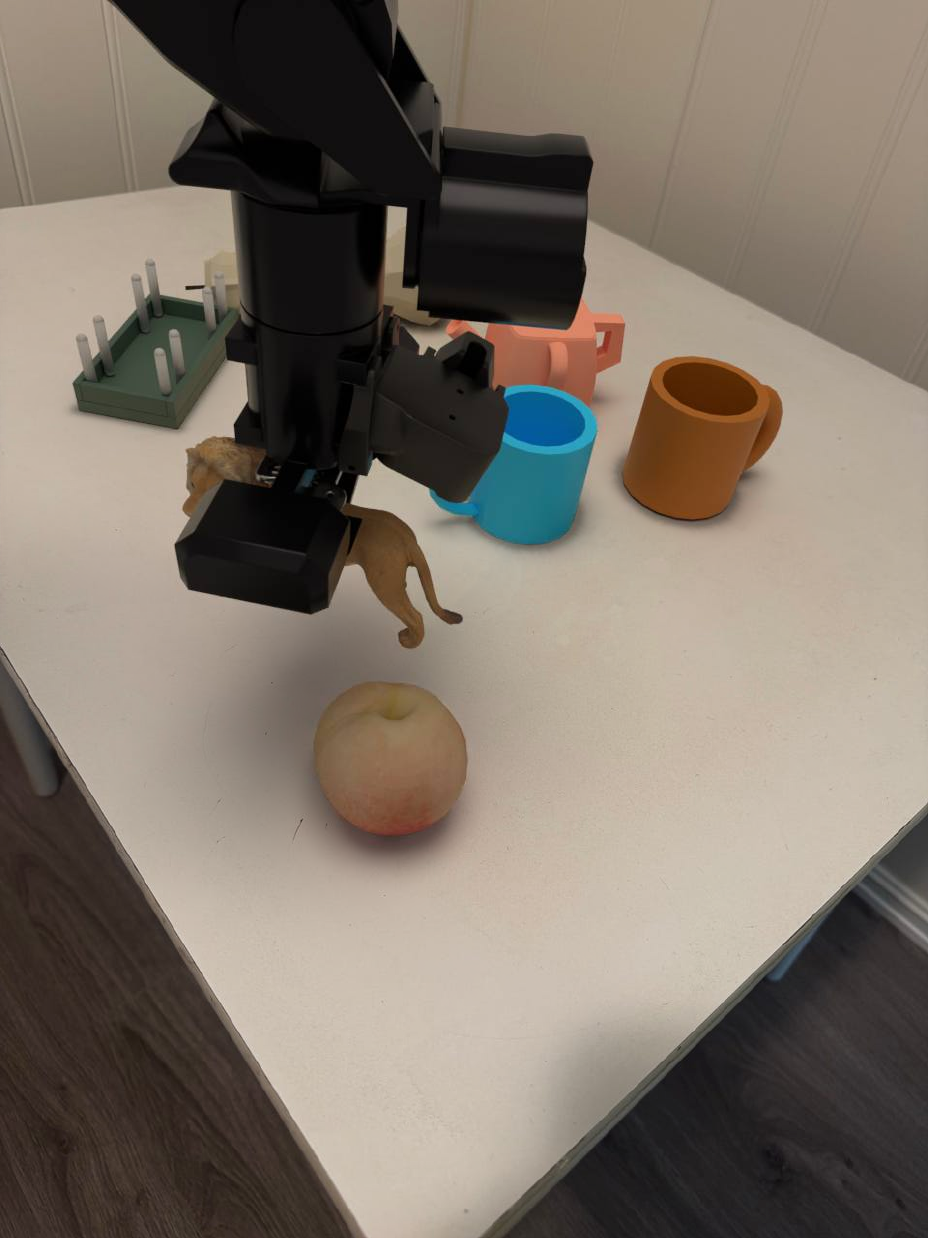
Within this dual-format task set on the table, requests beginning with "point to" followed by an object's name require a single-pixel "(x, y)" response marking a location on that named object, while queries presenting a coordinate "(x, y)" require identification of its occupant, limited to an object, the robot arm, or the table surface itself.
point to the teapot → (553, 352)
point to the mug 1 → (534, 468)
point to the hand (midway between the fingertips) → (317, 572)
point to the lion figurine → (376, 549)
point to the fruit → (390, 757)
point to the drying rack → (155, 355)
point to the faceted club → (393, 290)
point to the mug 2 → (698, 435)
